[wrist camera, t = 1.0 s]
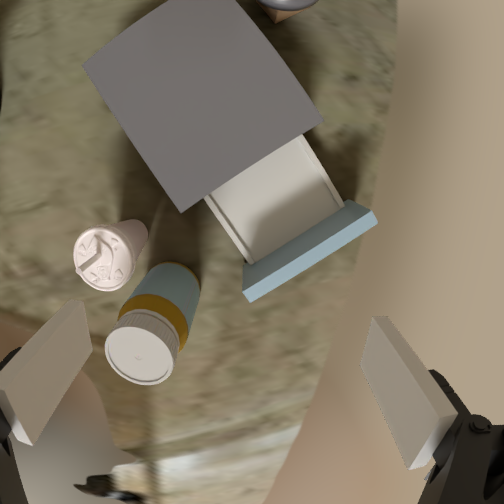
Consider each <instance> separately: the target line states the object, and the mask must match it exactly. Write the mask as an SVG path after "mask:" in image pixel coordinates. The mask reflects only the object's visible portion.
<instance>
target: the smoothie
mask: <svg viewBox="0 0 504 504" xmlns="http://www.w3.org/2000/svg"><path fill="white" fill-rule="evenodd" d="M147 240H148V231H147V228H146V226H145V225H144V224H143V223H142V222H141V221H139V220H136V219H130V220H126V221H122V222H118V223H114V224H110V225H105V224H104V225H95V226H92V227H90V228H89V229H87V230H86V231H84V232H83V233H82V234H81V235H80V236H79V238H78V239H77V241H76V243H75V247H74V262H75V266H76V268H77V269H76V273H77V274H80V276H81V277H82V278H83V280H84V281H85V282H86V283H88V284H89V285H90V286H92V287H93V288H96V289H98V290H102V291H113V290H116V289H119V288H120V287H122V286H123V285H124V284H125V283H127V282H128V280H129V279H130V278H131V277H132V274H133V272H134V270H135V262H136V260H137V259H138V257H139V255H140V253H141V251H142V249H143V247H144V246H145V244H146V242H147Z"/></svg>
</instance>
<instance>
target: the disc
mask: <svg viewBox="0 0 504 504" xmlns="http://www.w3.org/2000/svg"><path fill="white" fill-rule="evenodd" d="M257 1H258V2H260V3H261V4H263V5H265V6H267V7H269V8H272V9H275V10H280V11H299V10H303V9H306V8H309V7H311V6H312V5H314V4H315V3H316V2H317V1H318V0H257Z"/></svg>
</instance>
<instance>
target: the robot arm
mask: <svg viewBox="0 0 504 504" xmlns="http://www.w3.org/2000/svg"><path fill="white" fill-rule="evenodd" d="M0 104H1V94H0ZM92 351H93V349H92V345H91V340H90V335H89V330H88V325H87V320H86V314H85V308H84V302H83V301H79V300H71V299H70V300H69V301H68V302H67V303H66V304H64V305H63V306H62V307H61V308H60V309H59V310H58V311H57V312H56V313H55V314H54V315H53V316H52V317H51V318H50V319H49V320H48V321H47V322H46V323H45V324H44V325H43V326H42V327H41V328H40V329H39V330H38V331H37V333H36V334H35V335H34V336H33V337H32V338H31V339H30V340H29V341H28V342H27V343H26V344H25V345H24V346H23V347H18V348H17V349H15V350H13V351H11V352H10V353H9V354H8V355H7V356H6V357H5V358H4V359H3V361H1V362H0V504H28V501H27V498H26V495H25V492H24V489H23V485H22V482H21V479H20V475H19V472H18V468H17V464H16V460H15V457H14V452H13V449H12V444H11V441H10V438H9V437H8V435H9V433H10V431H11V430H12V431H13V433H14V435H15V436H16V438H17V440H19V441H21V442H23V443H26V444H29V445H31V446H34V444H35V442H36V440H37V439H38V437H39V435H40V434H41V432H42V430H43V428H44V427H45V425H46V423H47V422H48V420H49V418H50V417H51V415H52V413H53V412H54V410H55V409H56V407H57V405H58V404H59V402H60V400H61V399H62V397H63V396H64V394H65V392H66V391H67V389H68V388H69V386H70V385H71V383H72V381H73V380H74V378H75V377H76V375H77V374H78V372H79V371H80V369H81V368H82V366H83V365H84V363H85V361H86V360H87V358H88V357H89V355H90V354H91V352H92ZM360 367H361V369H362V371H363V373H364V375H365V377H366V379H367V381H368V384H369V386H370V387H371V390H372V392H373V394H374V396H375V398H376V400H377V403H378V405H379V407H380V409H381V411H382V413H383V415H384V418H385V420H386V422H387V424H388V426H389V429H390V430H391V433H392V435H393V438H394V439H395V442H396V444H397V446H398V449H399V451H400V453H401V456H402V458H403V460H404V462H405V465H406V467H407V469H408V470H411V469H415V468H418V467H422V466H425V465H426V464H427V463H428V461H429V460H430V458H431V457H432V455H433V457H434V459H435V461H436V463H435V465H434V466H433V468H432V469H431V470H430V472H429V473H428V474H427V476H426V477H425V479H424V480H427V479H428V480H427V483H426V486H425V488H424V490H423V492H422V495H421V497H420V499H419V502H418V504H504V425H492V424H491V422H490V421H489V420H488V419H487V418H485V417H483V416H481V415H476V414H473V415H471V413H470V412H469V411H468V409H467V408H466V406H465V405H464V404H463V402H462V401H461V400H460V398H459V397H458V395H457V394H456V393H454V390H453V388H452V387H451V386H449V383H448V382H447V381H446V379H445V378H444V376H442V375H441V374H440V373H438V372H437V371H435V370H427V368H426V367H425V366H424V364H423V363H422V362H421V360H420V359H419V357H418V356H417V355H416V353H415V352H414V351H413V350H412V348H411V347H410V345H409V344H408V343H407V342H406V340H405V339H404V337H403V336H402V335H401V334H400V332H399V331H398V330H397V328H396V327H395V326H394V324H393V323H392V322H391V321H390V319H389V318H388V317H387V316H373V317H372V320H371V325H370V329H369V333H368V337H367V341H366V345H365V348H364V352H363V356H362V359H361V363H360Z"/></svg>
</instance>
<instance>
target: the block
mask: <svg viewBox="0 0 504 504" xmlns="http://www.w3.org/2000/svg"><path fill="white" fill-rule="evenodd" d="M255 1H256V2H257V3H258V4H259V5H260V6H261V8H262V9H263V10H264V11H265V12H266V13H267V15H268V16H269V17H270V18H271V20H272V21H273V22H274V23H275V24H276V23H278V22H280V21H282V20H284V19H286V18H288V17H290V16H293V15H295V14H297V13H299V12H301V11H304V10H306V9H308V8H306V9H303V10H299V11H280V10H275V9H272V8H269V7H267V6H265V5H263V4H261V3H260V2H258V1H257V0H255ZM309 8H310V7H309Z"/></svg>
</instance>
